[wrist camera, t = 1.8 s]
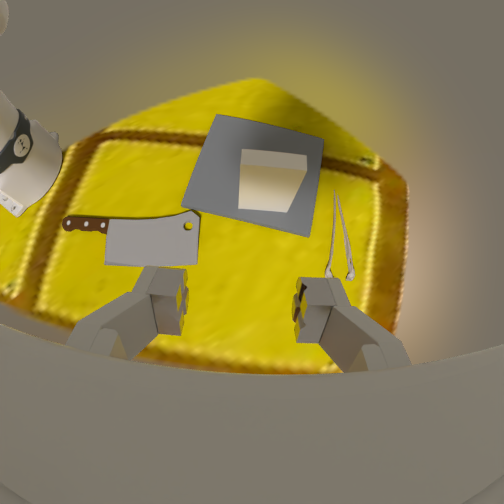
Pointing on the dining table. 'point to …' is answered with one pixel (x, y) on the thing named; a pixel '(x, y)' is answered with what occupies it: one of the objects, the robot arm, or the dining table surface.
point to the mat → (228, 173)
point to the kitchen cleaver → (144, 239)
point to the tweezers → (347, 247)
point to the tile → (270, 179)
